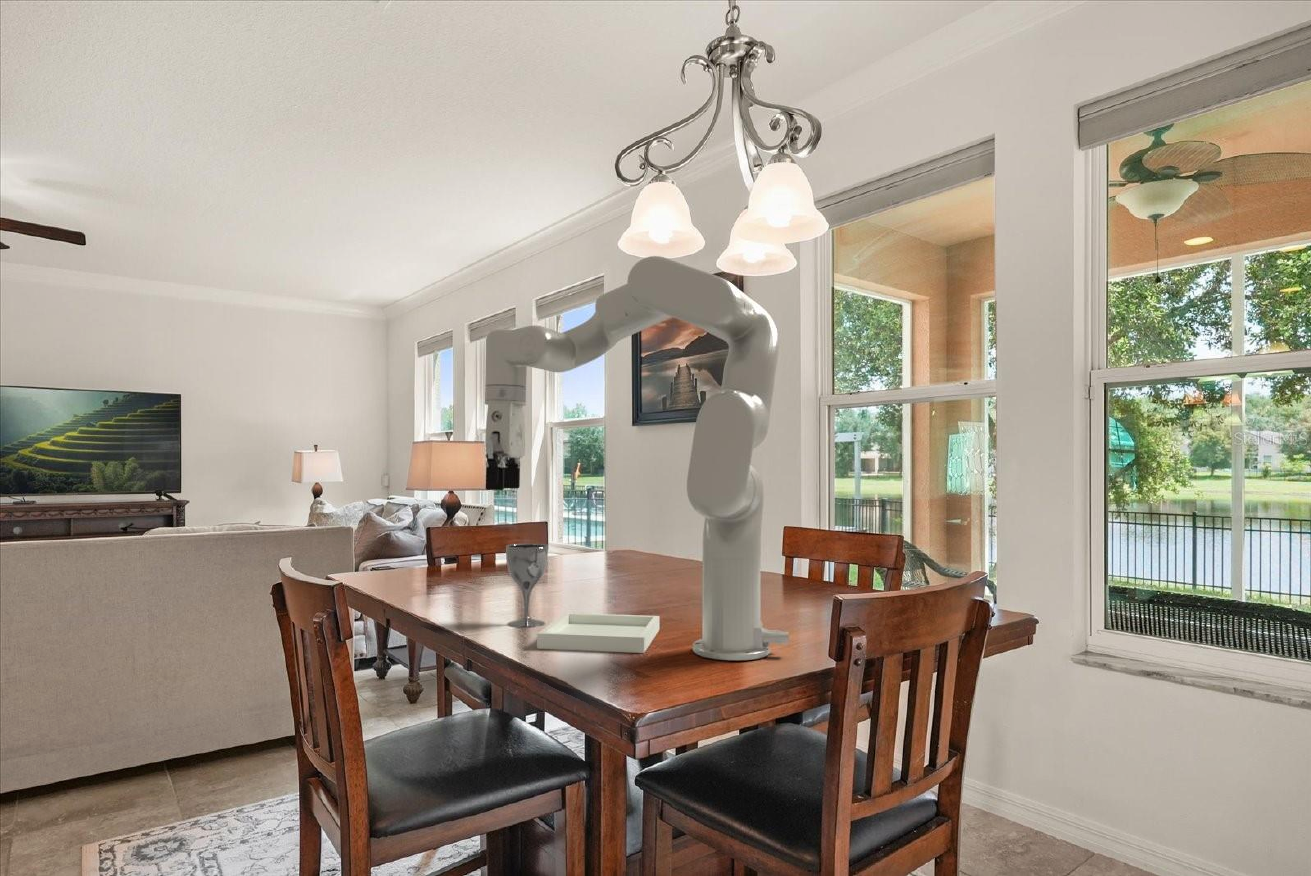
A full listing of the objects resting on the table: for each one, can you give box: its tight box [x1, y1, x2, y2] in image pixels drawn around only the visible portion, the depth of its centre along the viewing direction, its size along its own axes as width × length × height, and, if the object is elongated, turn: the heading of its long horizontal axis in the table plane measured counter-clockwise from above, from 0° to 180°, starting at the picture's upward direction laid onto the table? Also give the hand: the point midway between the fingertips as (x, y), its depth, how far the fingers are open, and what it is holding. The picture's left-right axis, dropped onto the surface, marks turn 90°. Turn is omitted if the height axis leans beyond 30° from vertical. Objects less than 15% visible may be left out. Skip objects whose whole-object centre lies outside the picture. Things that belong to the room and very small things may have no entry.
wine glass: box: [505, 542, 549, 629], centre depth 147 cm, size 8×8×15 cm
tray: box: [536, 612, 660, 654], centre depth 134 cm, size 18×18×2 cm
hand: (503, 489), depth 141 cm, fingers open, 9 cm apart
